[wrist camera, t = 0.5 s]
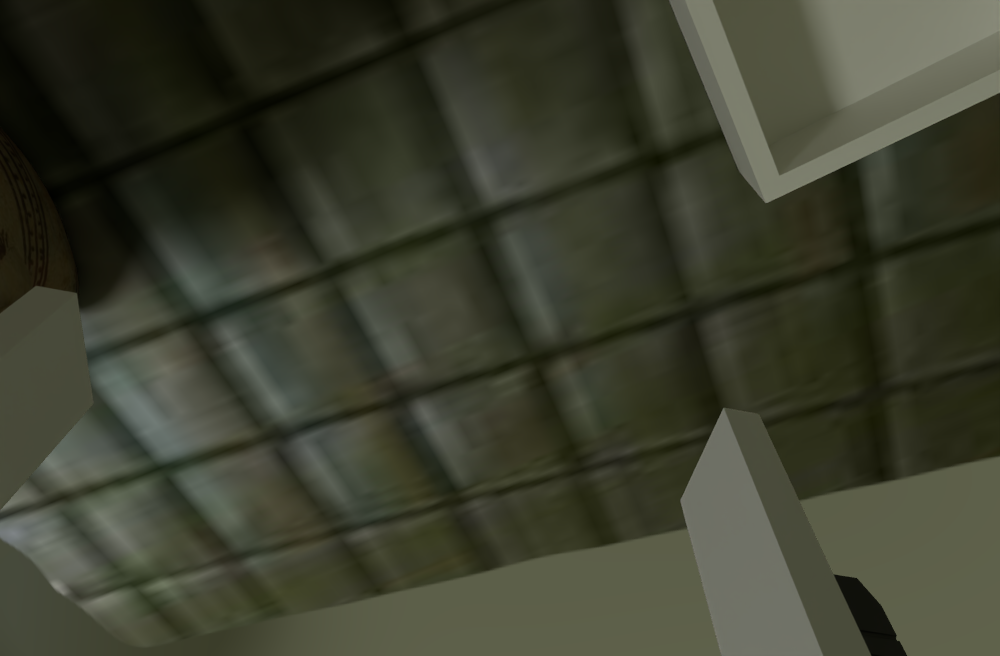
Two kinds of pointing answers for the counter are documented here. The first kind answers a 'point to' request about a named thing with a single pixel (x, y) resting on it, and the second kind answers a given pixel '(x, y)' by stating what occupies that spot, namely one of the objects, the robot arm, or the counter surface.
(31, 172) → the ceramic vessel
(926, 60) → the tray
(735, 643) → the robot arm
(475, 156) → the counter surface
